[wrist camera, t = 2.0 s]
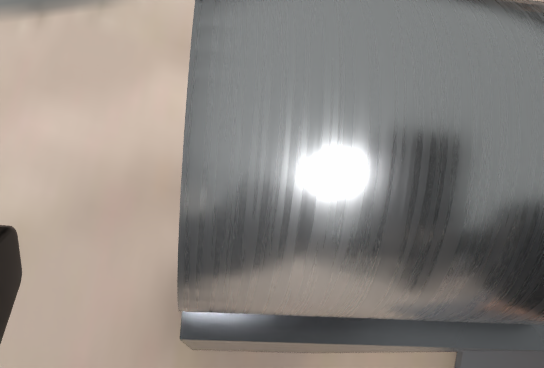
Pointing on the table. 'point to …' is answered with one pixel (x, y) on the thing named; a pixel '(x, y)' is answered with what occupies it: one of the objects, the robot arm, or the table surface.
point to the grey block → (363, 177)
